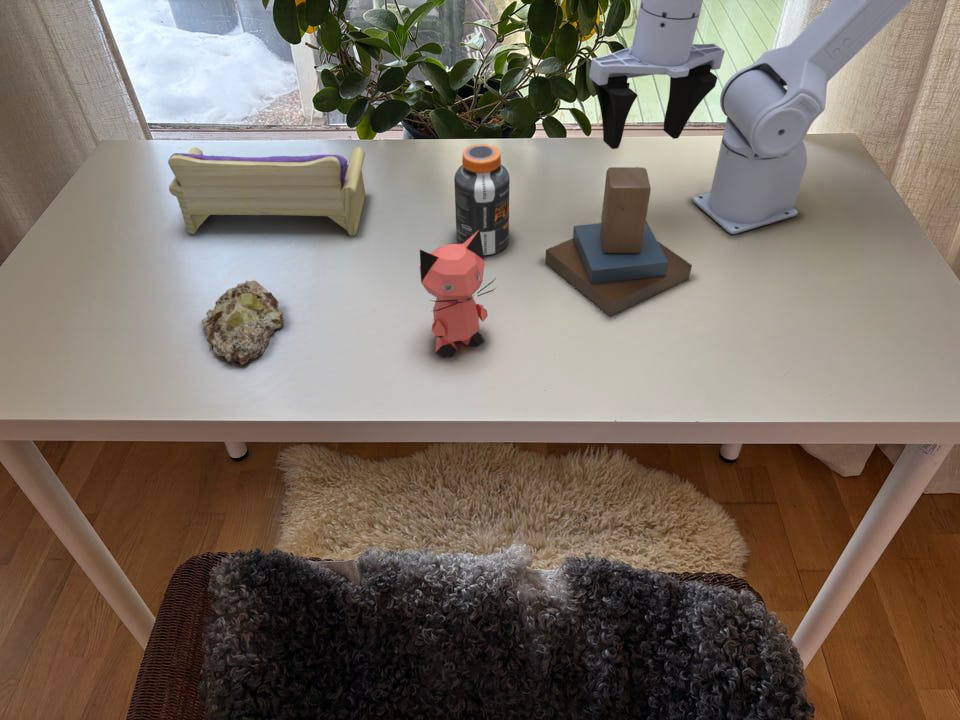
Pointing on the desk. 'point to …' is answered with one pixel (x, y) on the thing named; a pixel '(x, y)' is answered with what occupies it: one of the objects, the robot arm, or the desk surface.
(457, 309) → the cat figurine
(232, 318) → the mineral rock
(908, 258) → the desk surface
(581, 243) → the top tile
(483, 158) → the pill bottle
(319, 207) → the toy sofa
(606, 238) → the wooden block
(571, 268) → the base slab
